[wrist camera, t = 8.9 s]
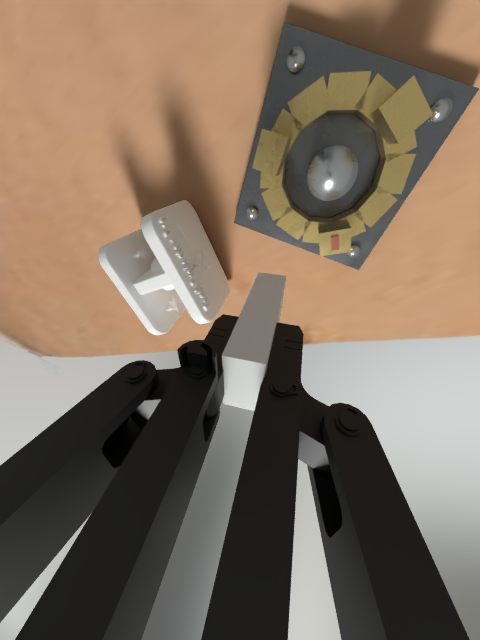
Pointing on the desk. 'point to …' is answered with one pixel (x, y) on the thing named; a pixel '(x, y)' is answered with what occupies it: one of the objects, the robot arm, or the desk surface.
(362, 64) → the flange
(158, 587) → the robot arm
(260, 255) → the desk surface
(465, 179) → the desk surface
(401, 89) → the ring nut
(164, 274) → the cable organizer
